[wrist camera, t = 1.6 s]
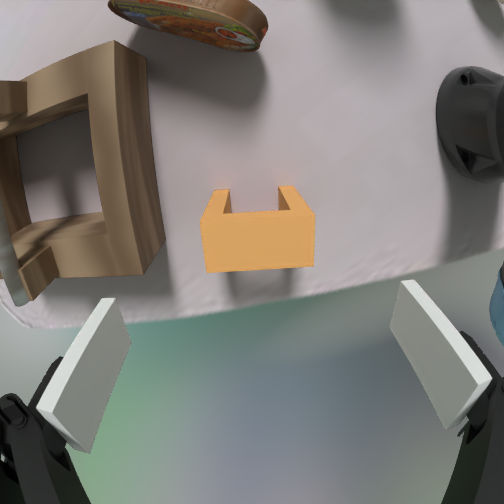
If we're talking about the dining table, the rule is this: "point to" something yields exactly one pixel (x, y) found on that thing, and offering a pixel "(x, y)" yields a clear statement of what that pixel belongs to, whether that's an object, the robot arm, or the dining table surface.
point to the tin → (200, 20)
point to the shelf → (106, 165)
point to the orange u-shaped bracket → (258, 234)
